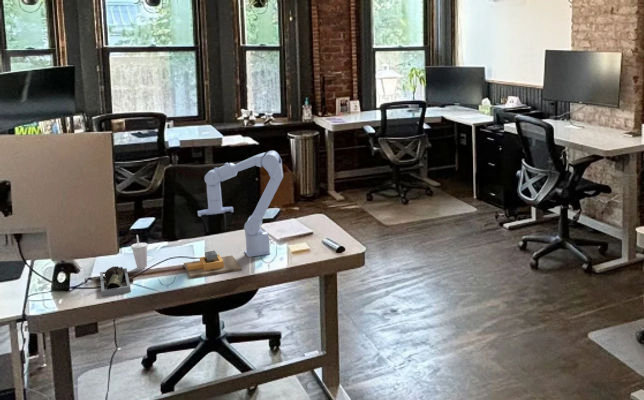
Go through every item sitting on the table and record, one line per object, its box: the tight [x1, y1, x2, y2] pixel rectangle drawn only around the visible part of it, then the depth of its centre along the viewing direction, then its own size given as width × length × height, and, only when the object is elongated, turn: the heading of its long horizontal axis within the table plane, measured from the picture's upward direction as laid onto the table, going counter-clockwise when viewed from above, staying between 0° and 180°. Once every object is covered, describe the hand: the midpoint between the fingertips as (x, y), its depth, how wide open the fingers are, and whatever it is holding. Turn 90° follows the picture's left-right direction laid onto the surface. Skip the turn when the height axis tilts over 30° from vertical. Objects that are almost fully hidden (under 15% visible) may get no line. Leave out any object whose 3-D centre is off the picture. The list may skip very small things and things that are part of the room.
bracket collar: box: [187, 254, 224, 270], centre depth 252 cm, size 13×9×2 cm, turn 110°
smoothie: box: [130, 234, 149, 270], centre depth 255 cm, size 6×6×14 cm
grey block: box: [204, 250, 218, 263], centre depth 253 cm, size 4×5×6 cm
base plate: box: [183, 254, 242, 279], centre depth 253 cm, size 20×16×1 cm
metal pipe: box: [104, 265, 125, 289], centre depth 240 cm, size 18×7×6 cm, turn 10°
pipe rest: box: [99, 267, 132, 297], centre depth 240 cm, size 10×21×2 cm, turn 20°
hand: (217, 230), depth 267 cm, fingers open, 7 cm apart
